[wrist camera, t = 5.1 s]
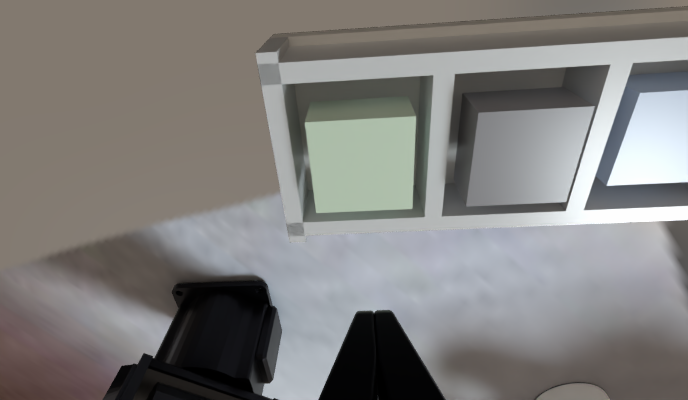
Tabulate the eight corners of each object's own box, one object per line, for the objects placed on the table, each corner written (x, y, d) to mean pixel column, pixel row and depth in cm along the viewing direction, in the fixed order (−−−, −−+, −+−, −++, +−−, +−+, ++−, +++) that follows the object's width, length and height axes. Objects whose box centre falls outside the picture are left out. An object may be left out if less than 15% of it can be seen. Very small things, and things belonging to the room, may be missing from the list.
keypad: (298, 199, 22) (289, 242, 19) (273, 34, 17) (255, 52, 14) (784, 176, 21) (866, 219, 18) (903, -9, 16) (1049, 1, 13)
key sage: (320, 185, 19) (316, 213, 17) (310, 101, 16) (304, 122, 14) (405, 181, 18) (412, 208, 16) (408, 96, 16) (416, 116, 14)
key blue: (579, 161, 19) (606, 185, 17) (605, 76, 17) (640, 92, 15) (666, 157, 19) (704, 181, 17) (704, 70, 17) (753, 86, 15)
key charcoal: (453, 178, 18) (465, 206, 16) (462, 92, 16) (478, 112, 14) (542, 174, 18) (565, 202, 16) (564, 87, 16) (595, 106, 14)
